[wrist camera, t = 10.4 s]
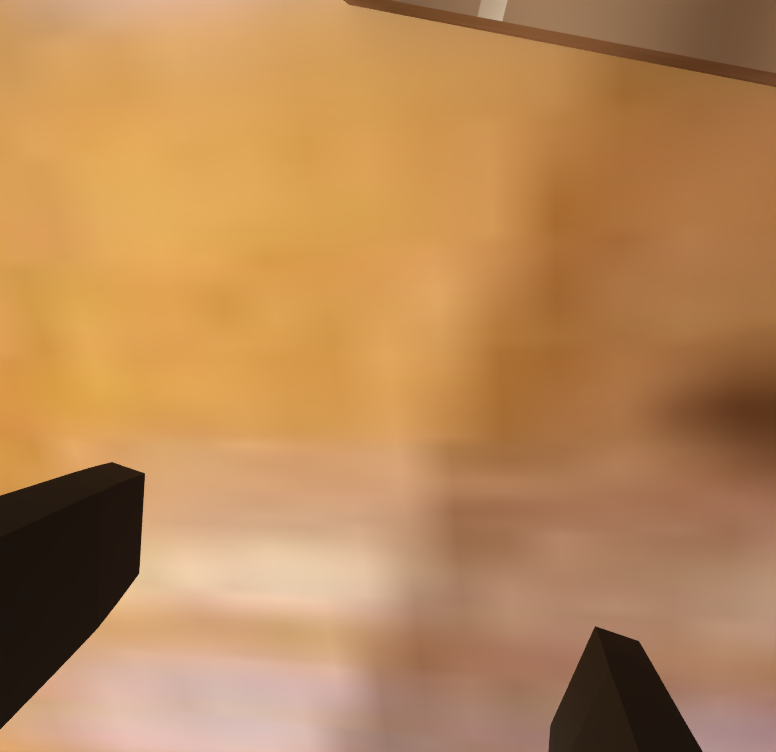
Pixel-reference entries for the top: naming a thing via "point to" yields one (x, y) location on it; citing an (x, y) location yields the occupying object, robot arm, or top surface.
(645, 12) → the walnut board
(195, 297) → the top surface
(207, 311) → the top surface
